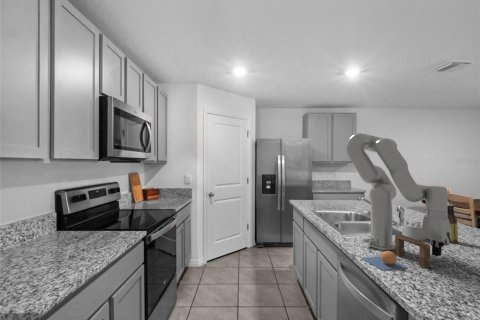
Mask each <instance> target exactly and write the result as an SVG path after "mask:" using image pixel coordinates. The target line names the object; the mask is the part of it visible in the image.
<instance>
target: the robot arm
mask: <svg viewBox="0 0 480 320" xmlns="http://www.w3.org/2000/svg"><path fill="white" fill-rule="evenodd" d="M366 151H368V152H373V153H376V154H377V155H378V156H379V158H380V160H381V161H382V163H383V164H384V166H385V167H386V169H387V170H388V172H389V175H390V177H391V179H392V180H391V179H390V177H389V175H388V174H387V173H386V171H385V170H384V169H383V168H382V167H381V166H379V165H378V166H377V165H375V164H374V163H373V161H372V160H371V159H370V157H369V155H368V154H367V153H366ZM346 153H347V155H348V158H349V159H350V161H351V163H352V164H353V166H354V168H355V169H356V171H357V173H358V175H359V177H360V178H361V180H362V181H363V182H364V183H366V184H370V186H371V188H370V190H369V195H368V196H369V203H370V235H369V236H368V237H367V238H362V240H361V241H362V243H364V244H366V243H367V245H368V246H369V247H371V248H373V249H376V250H381V251H395V243H393V205H392V200H394V199H395V198H396V196H397V189H398V191H399V192H400V194H401V196H403V198H404V199H405V200H406V201H408V202H411V203H417V202H420V201H425V209H424V212H425V214H424V216H423V219H422V222H421V223H422V235H423V236H424V238H425V239H426V240H427V241H428V242H429V245H430V247H431V255H432V256H434V257H442V248H443V247H444V246H446V247H448V246H451V243H450V241H451V227H450V222H449V219H448V207H447V204H449V203H448V189H447V187H445V186H441V185H430V186H429V185H422V184H417V182H416V181H415V180H414V178H413V176H412V175H411V172H410V171H409V164H408V162H407V160H406V159H405V158H404V156H403V155H402V154H401V152H400V151H399V149H398V144H397V142H396V141H395V140H393V139H390V138H386V137H385V138H384V137H380V136H375V135H370V134H366V133H354V134H353V135H352V136H350V137H349V139H348V141H347V144H346ZM392 181H393V182H392ZM394 184H395V185H394ZM395 186H396V187H395ZM396 188H397V189H396Z"/></svg>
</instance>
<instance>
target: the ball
mask: <svg viewBox="0 0 480 320" xmlns="http://www.w3.org/2000/svg"><path fill="white" fill-rule="evenodd" d="M380 256H381V258H382V261H383V262H384V263H385V264H387V265H393V264H395V263H396V262H397V255H395V252H392V251H391V250H383V252H382V253H381V255H380Z"/></svg>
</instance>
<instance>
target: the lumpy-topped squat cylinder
mask: <svg viewBox="0 0 480 320" xmlns="http://www.w3.org/2000/svg"><path fill="white" fill-rule="evenodd" d="M422 223H423V222H421V221H418V220H417V221H416V220H404V222H403V235H404V236H407V237H409V238H412V239H415V240H418V241H425V240H427V239H425V238H424V236H423V235H422Z"/></svg>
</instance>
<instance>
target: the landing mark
mask: <svg viewBox="0 0 480 320" xmlns="http://www.w3.org/2000/svg"><path fill="white" fill-rule="evenodd" d="M361 260H363V261H365V262H367V263H368V264H370V265H372V266H374V267H375V268H377V269H378V270H380V271H389V270H399V269H400V270H402V269H408V267H407V266H406V265H404V264H402V263H399V262H398V261H396V263H395V264H393V265H387V264H385V263H384V262H383V261H382V258H381V255H380V256H368V257H361Z"/></svg>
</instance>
